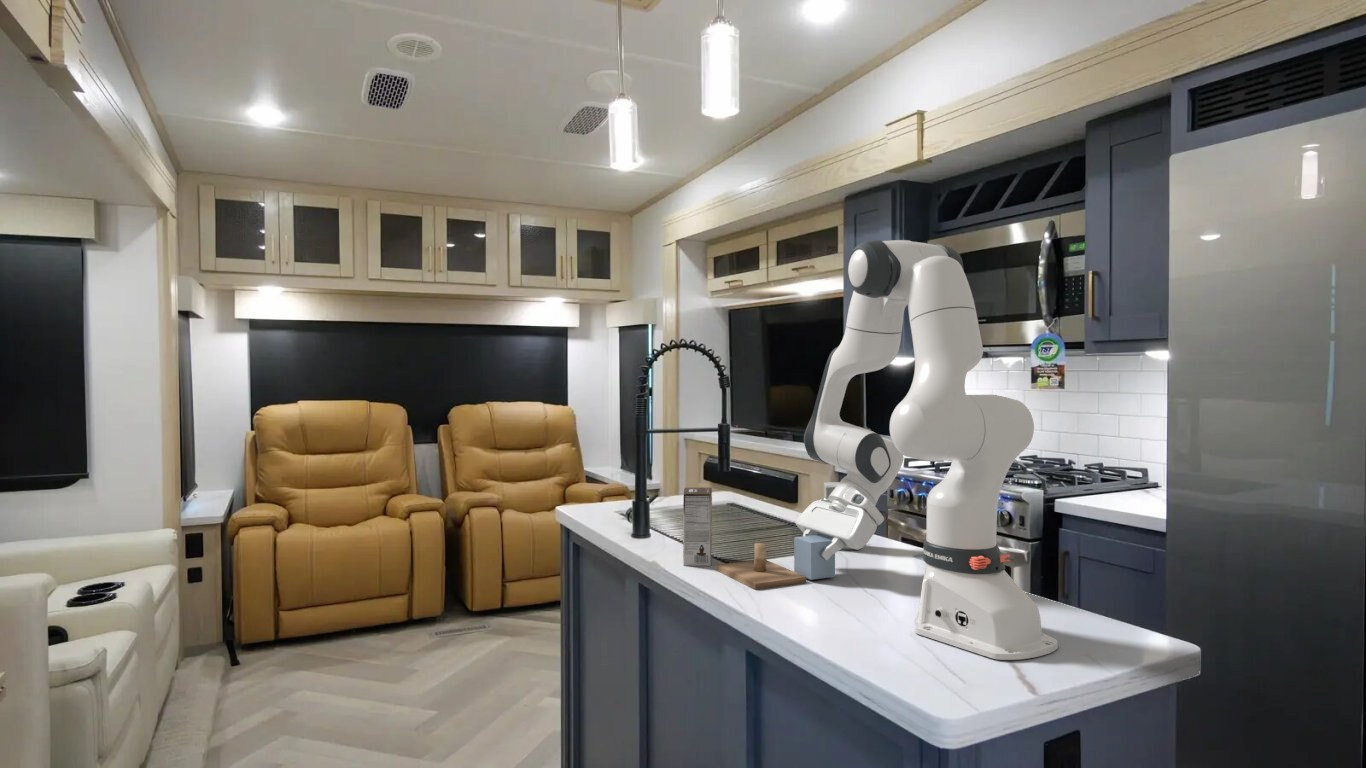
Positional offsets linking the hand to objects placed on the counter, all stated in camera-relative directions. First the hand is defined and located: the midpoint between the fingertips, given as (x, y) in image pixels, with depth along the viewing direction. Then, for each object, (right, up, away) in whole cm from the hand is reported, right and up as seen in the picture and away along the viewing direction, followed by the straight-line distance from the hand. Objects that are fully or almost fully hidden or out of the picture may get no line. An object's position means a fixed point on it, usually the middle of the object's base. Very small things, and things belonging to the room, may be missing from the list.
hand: (812, 553), depth 157 cm
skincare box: (+12, -5, +27) cm, 30 cm away
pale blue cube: (+1, -4, 0) cm, 4 cm away
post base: (-11, -5, +1) cm, 12 cm away
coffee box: (-24, -5, +13) cm, 28 cm away
